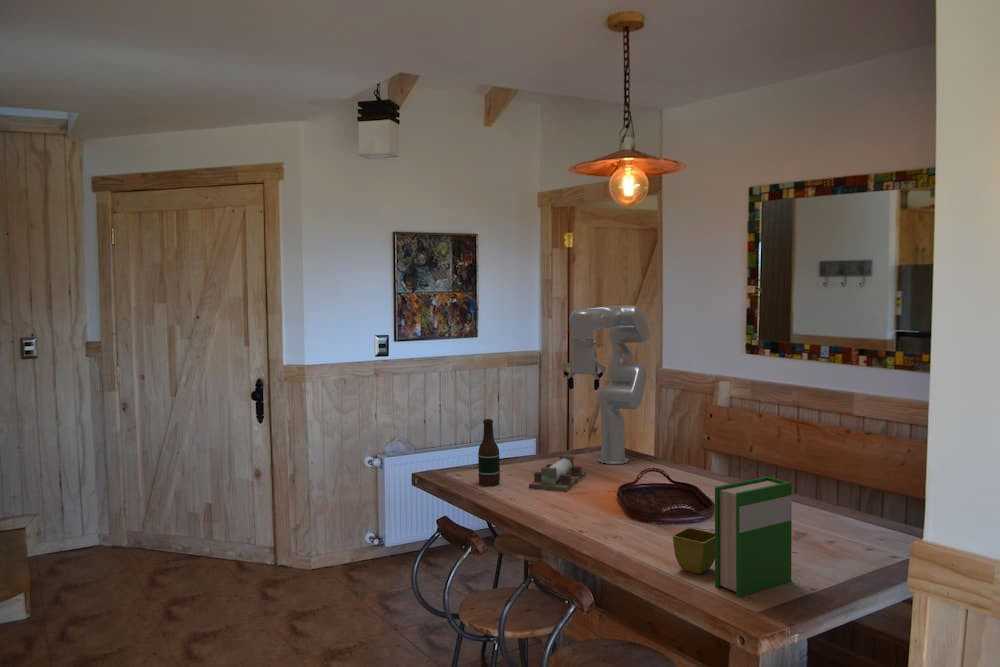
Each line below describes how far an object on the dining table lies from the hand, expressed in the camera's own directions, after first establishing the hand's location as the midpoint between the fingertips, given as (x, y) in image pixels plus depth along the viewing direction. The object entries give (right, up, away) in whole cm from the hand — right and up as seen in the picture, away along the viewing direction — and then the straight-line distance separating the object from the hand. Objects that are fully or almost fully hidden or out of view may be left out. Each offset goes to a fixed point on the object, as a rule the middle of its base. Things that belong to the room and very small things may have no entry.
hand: (583, 389), depth 286 cm
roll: (-10, -32, -6) cm, 34 cm away
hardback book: (+29, -39, -106) cm, 116 cm away
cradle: (-10, -34, -6) cm, 36 cm away
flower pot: (+18, -39, -96) cm, 105 cm away
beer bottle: (-36, -35, -7) cm, 50 cm away
